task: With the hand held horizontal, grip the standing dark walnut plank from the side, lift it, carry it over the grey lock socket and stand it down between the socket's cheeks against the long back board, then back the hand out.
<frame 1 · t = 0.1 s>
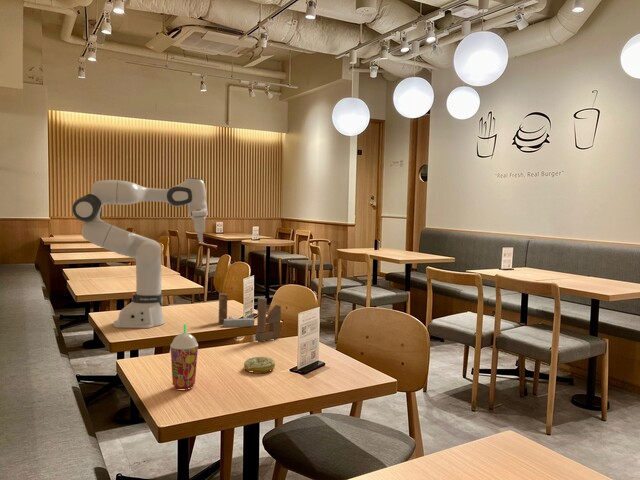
hand: (200, 241, 253), 39 cm above the table, tool pointing down, fingers open, 8 cm apart
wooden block: (267, 339, 228), on the table
socket: (237, 323, 255), on the table
decorated donut: (259, 370, 187), on the table
smoothie: (183, 388, 167), on the table
plank: (222, 322, 256), on the table
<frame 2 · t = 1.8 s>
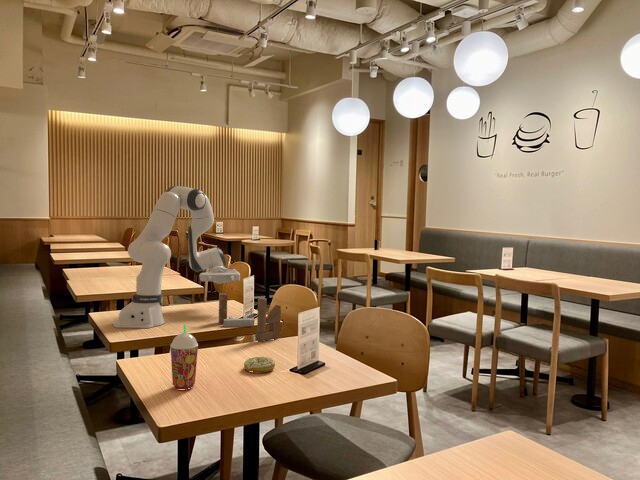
hand: (221, 279, 266), 19 cm above the table, tool horizontal, fingers open, 8 cm apart
nothing on the table moved.
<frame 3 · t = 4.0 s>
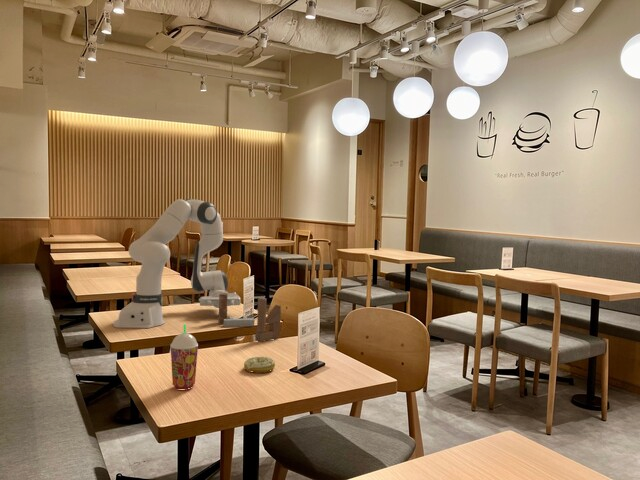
hand: (221, 304, 261), 8 cm above the table, tool horizontal, fingers open, 8 cm apart
nothing on the table moved.
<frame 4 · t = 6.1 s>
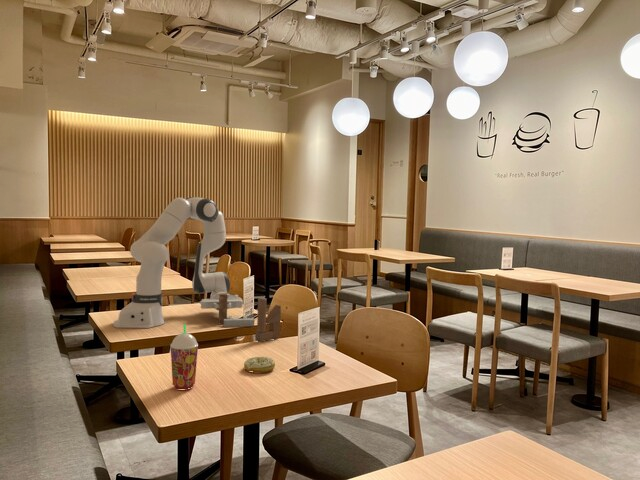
hand: (223, 306, 254), 8 cm above the table, tool horizontal, fingers closed on plank, 3 cm apart
plank: (222, 322, 256), on the table, touching gripper
everything else where it was.
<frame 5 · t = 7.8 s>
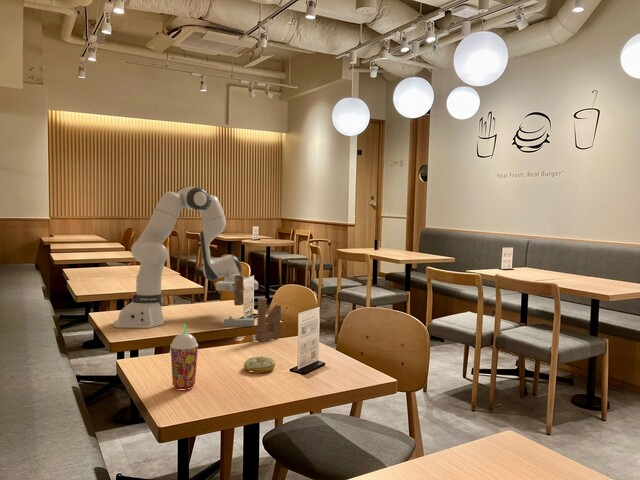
hand: (238, 288, 253), 17 cm above the table, tool horizontal, fingers closed on plank, 3 cm apart
plank: (238, 304, 255), point 9 cm above the table, touching gripper
everything else where it was.
when the fingers open (9 cm above the table, at t = 9.5 s): plank drops 1 cm, resting in socket.
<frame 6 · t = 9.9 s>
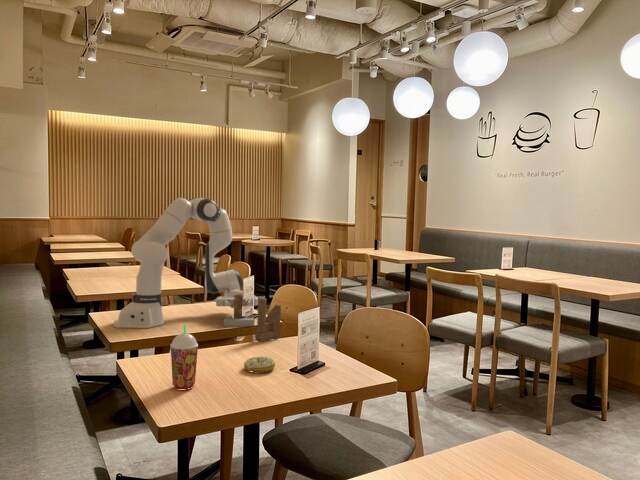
hand: (238, 304, 254), 9 cm above the table, tool horizontal, fingers open, 8 cm apart
plank: (237, 323, 255), resting in socket
everything else where it was.
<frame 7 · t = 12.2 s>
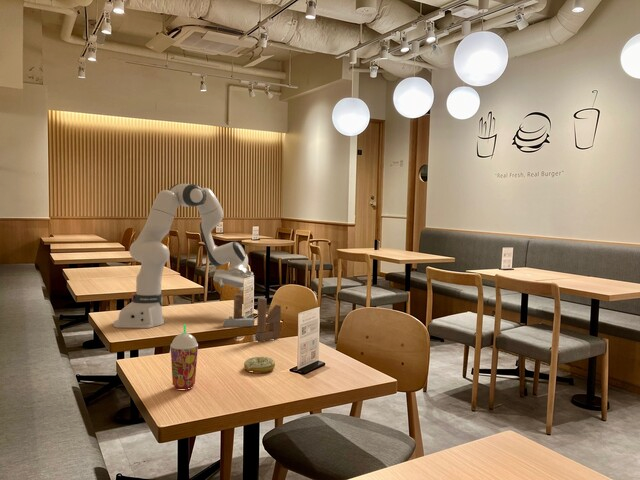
hand: (230, 288, 263), 15 cm above the table, tool tilted 65°, fingers open, 8 cm apart
nothing on the table moved.
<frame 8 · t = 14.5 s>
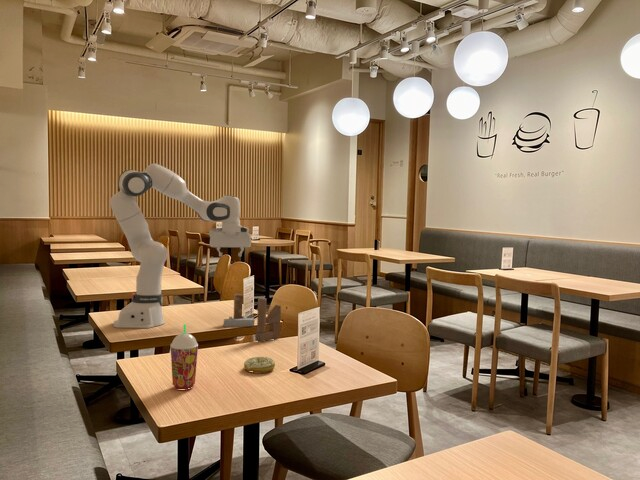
hand: (230, 256, 263), 31 cm above the table, tool pointing down, fingers open, 8 cm apart
nothing on the table moved.
at the end: plank 0.1 cm off-centre on the socket, point 0.0 cm above the socket's base; plank tilted 0°; the gripper is holding nothing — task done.
